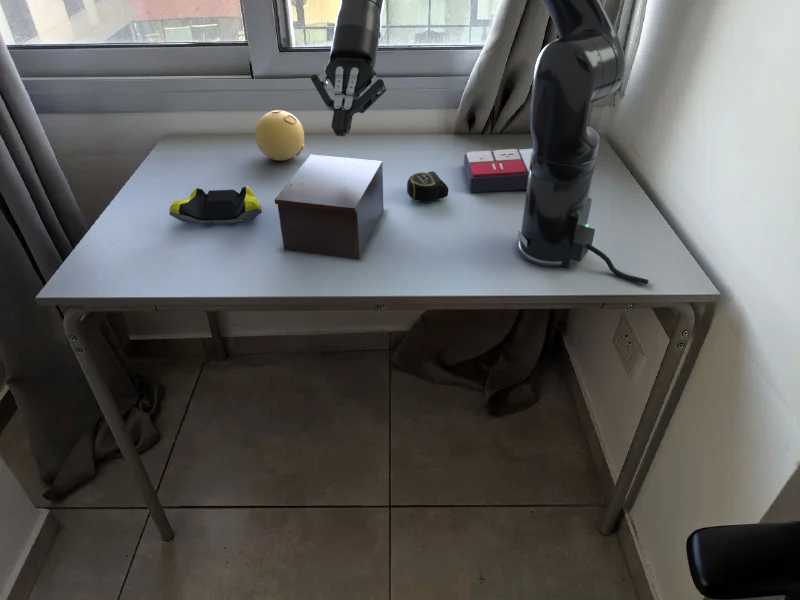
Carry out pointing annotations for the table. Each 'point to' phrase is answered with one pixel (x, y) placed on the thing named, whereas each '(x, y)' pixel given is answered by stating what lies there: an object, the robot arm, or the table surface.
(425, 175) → the tape measure
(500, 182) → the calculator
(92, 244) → the table surface
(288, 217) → the chest
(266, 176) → the table surface
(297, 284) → the table surface
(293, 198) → the lid
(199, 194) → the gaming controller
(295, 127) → the stress ball
